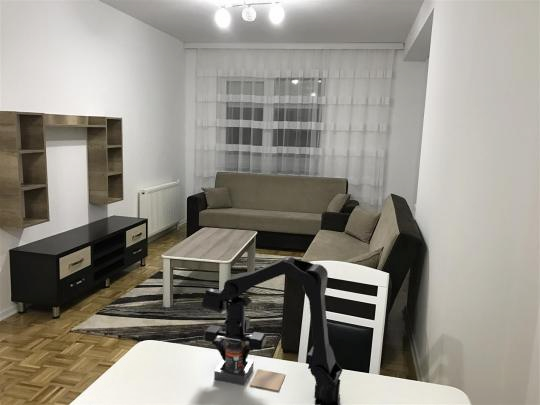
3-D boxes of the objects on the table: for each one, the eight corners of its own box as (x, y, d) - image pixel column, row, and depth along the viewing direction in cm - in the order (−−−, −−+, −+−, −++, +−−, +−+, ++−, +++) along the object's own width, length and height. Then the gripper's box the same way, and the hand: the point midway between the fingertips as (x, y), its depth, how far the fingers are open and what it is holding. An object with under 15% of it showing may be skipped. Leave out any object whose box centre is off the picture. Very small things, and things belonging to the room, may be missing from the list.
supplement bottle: (240, 380, 139) (241, 346, 137) (222, 377, 140) (222, 344, 138) (245, 370, 145) (246, 337, 143) (227, 367, 146) (228, 334, 144)
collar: (253, 368, 146) (253, 360, 146) (244, 385, 137) (244, 376, 137) (225, 363, 149) (225, 355, 148) (214, 379, 140) (214, 370, 139)
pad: (285, 375, 144) (285, 374, 143) (278, 391, 135) (278, 390, 135) (258, 370, 146) (258, 369, 146) (249, 386, 137) (249, 384, 137)
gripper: (271, 309, 144) (269, 354, 147) (216, 301, 149) (216, 345, 152) (262, 324, 134) (260, 372, 137) (203, 315, 138) (202, 362, 141)
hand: (234, 362), depth 142 cm, fingers closed on supplement bottle, 6 cm apart
